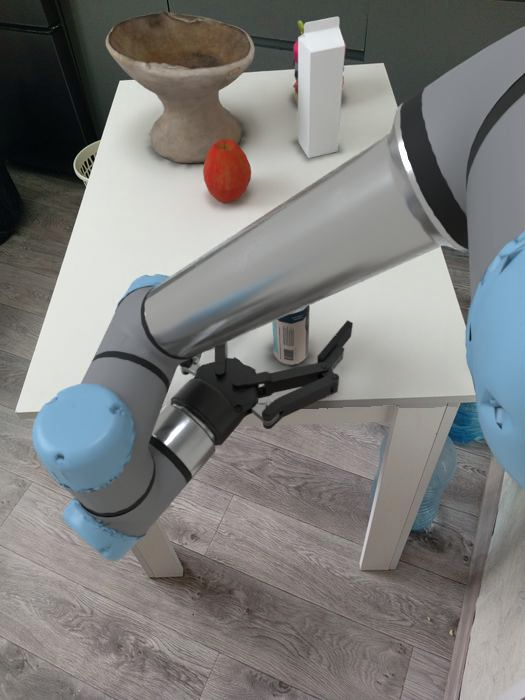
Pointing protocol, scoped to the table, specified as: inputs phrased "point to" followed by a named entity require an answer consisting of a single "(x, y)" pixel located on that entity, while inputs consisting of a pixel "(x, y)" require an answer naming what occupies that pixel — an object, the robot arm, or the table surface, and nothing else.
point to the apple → (226, 171)
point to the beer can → (292, 337)
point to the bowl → (184, 77)
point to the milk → (320, 86)
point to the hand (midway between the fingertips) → (303, 304)
